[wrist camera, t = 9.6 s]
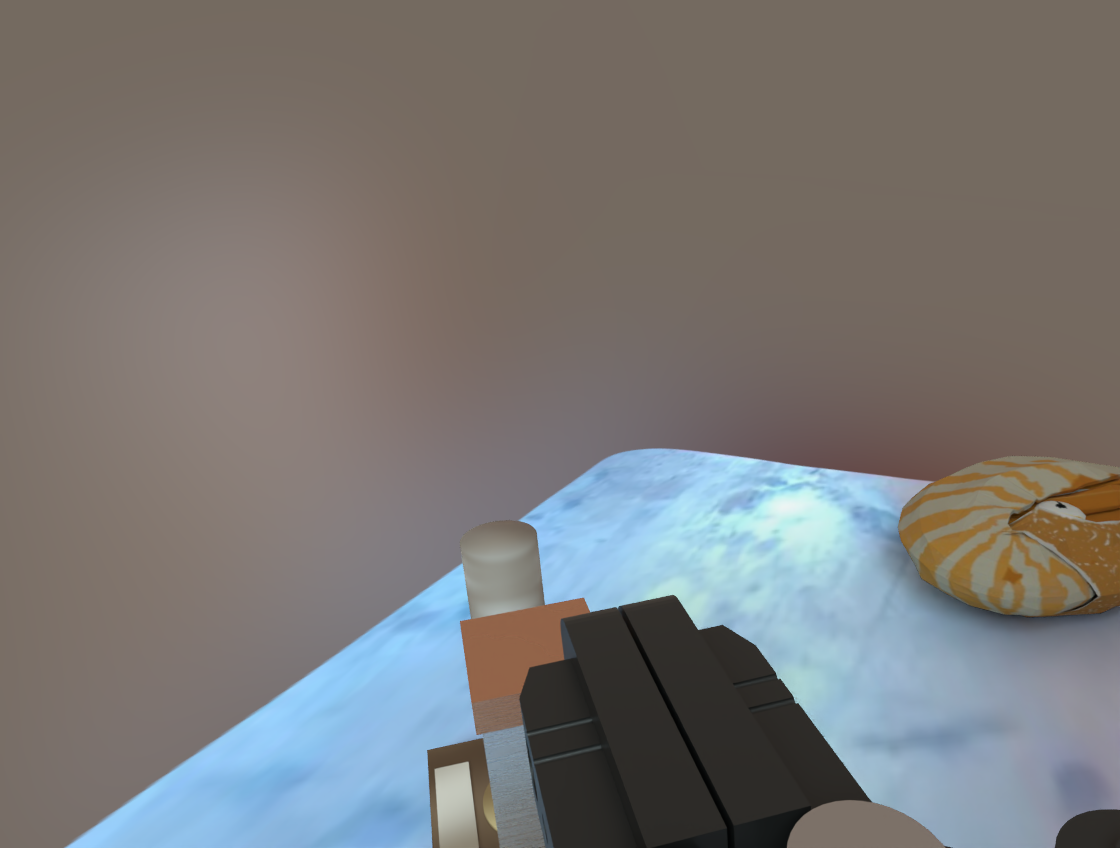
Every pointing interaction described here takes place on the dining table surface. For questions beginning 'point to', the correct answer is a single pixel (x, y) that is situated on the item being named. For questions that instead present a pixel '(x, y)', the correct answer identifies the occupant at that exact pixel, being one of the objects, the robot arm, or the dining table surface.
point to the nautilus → (1020, 536)
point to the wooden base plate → (461, 769)
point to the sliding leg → (511, 705)
